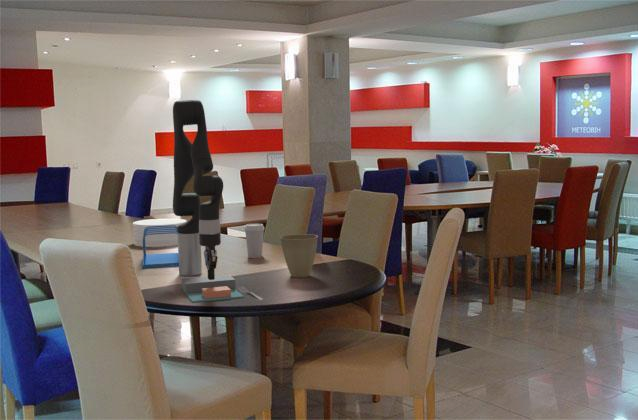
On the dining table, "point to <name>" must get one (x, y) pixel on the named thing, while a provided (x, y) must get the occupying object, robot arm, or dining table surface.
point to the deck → (206, 283)
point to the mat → (199, 298)
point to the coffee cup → (254, 239)
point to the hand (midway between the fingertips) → (211, 279)
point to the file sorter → (159, 259)
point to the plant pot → (299, 253)
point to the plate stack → (156, 239)
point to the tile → (216, 292)
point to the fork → (249, 292)
